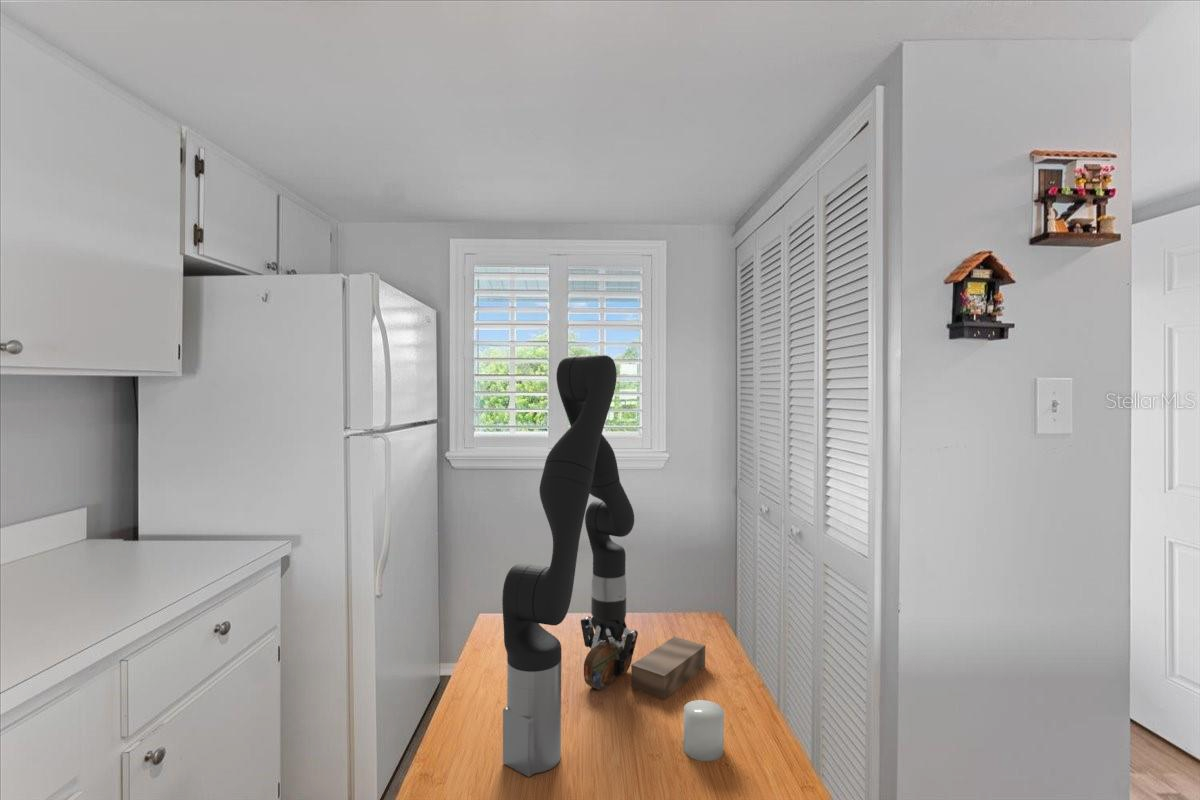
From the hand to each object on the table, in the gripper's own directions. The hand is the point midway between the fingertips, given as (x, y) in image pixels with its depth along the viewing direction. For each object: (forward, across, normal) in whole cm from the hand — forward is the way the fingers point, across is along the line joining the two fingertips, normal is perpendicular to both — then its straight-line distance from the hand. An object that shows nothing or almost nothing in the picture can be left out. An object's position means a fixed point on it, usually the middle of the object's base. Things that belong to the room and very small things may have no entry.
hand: (608, 671), depth 135 cm
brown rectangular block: (+2, +10, +9) cm, 14 cm away
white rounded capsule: (+2, +28, -10) cm, 30 cm away
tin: (+2, 0, 0) cm, 2 cm away
